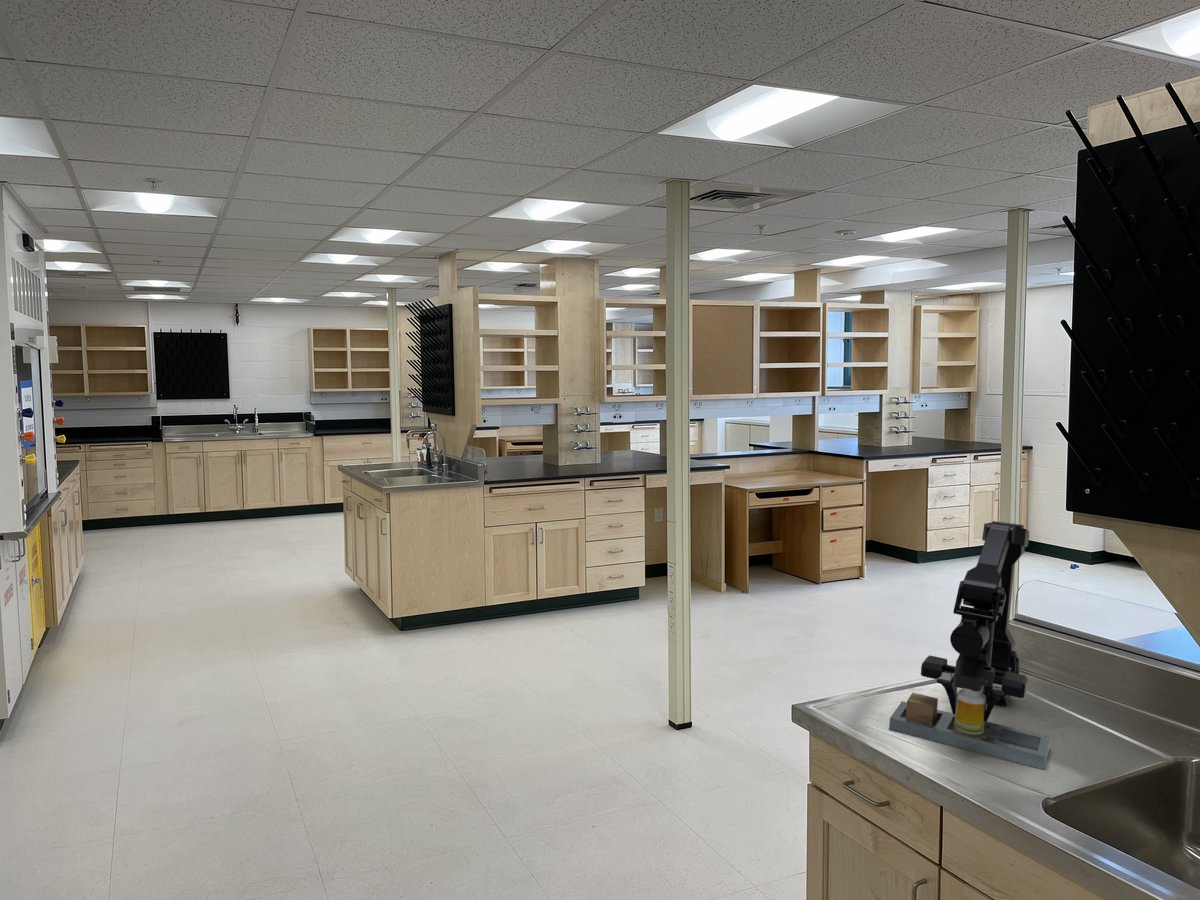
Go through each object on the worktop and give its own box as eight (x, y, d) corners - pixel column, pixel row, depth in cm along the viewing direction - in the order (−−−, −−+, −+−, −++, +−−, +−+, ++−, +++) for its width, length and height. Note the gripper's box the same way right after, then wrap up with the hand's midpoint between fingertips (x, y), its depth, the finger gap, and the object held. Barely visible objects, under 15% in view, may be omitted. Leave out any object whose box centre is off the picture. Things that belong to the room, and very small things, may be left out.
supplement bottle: (986, 737, 167) (990, 689, 166) (957, 734, 168) (961, 686, 167) (980, 725, 172) (984, 678, 171) (951, 722, 173) (955, 676, 172)
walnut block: (910, 720, 179) (912, 692, 178) (935, 726, 176) (938, 698, 175) (904, 728, 174) (907, 700, 174) (930, 735, 172) (933, 706, 171)
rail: (900, 712, 182) (901, 701, 182) (1049, 749, 167) (1050, 736, 167) (889, 729, 174) (890, 717, 173) (1044, 769, 159) (1045, 756, 158)
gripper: (917, 642, 166) (911, 719, 168) (1024, 664, 156) (1016, 746, 158) (929, 627, 175) (923, 700, 177) (1031, 646, 166) (1023, 724, 168)
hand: (969, 717), depth 170 cm, fingers closed on supplement bottle, 5 cm apart
